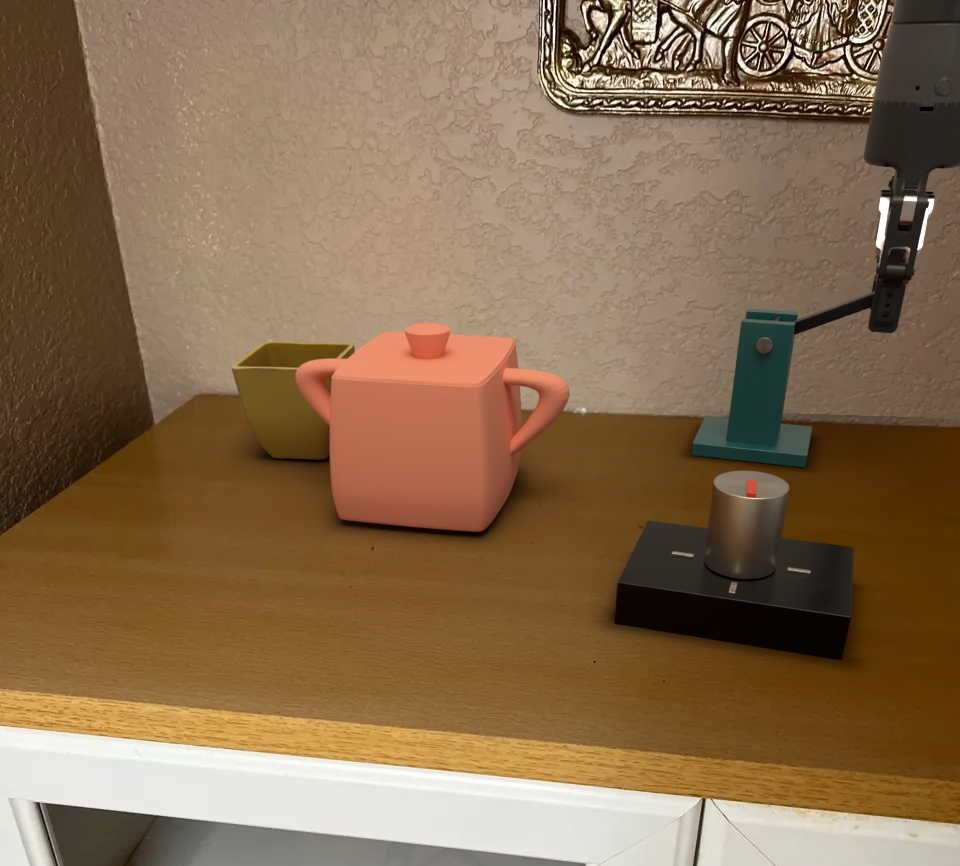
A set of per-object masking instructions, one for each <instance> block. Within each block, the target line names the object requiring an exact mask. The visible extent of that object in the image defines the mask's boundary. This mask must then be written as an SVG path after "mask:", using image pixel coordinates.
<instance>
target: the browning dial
mask: <svg viewBox="0 0 960 866" xmlns="http://www.w3.org/2000/svg"><path fill="white" fill-rule="evenodd" d="M711 490H712V491H711V499H710V507H709V514H708V515H709V516H708V523H707V528H708V530H707V538H706V546H705V554H704V562H705V564H706V566H707V567H708V568H709V569H711V570H712V571H714V572H716V573H718V574H721V575H724V576H727V577H732V578H738V579H757V578H762V577H766V576H768V575H770V574H772V573H773V572H774V571H775V570H776V567H777V561H778V555H779V549H780V543H781V538H783V537H782V536H783V532H784V531H783V530H784V524H785V517H786V512H787V507H788V500H789V493H790V485H789V483H788V482H787V481H786V480H784V479H783V478H782V477H779V476H777V475H774V474H770V473H767V472H762V471H756V470H755V471H754V470H733V471H726V472H723V473H721V474H719V475H716V476H715V478H714V479H713V482H712V489H711Z"/></svg>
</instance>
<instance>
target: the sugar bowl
mask: <svg viewBox="0 0 960 866" xmlns="http://www.w3.org/2000/svg"><path fill="white" fill-rule="evenodd" d="M451 329H452V328H451V327H450V326H448V325H446V324H444V323H439V322H418V323H414V324H411V325H409V326H406V327H405V328H404V331H385V332H383V333H381V334H378V335H377V336H375V337H374V338H372V339H371V340H369V341H368V342H367V343H365V344H364V345H362V346H361V347H360V348H358V349H357V350H355V353H353V354H352V355H351V356H350V357H349V358H348V359H317V360H312V361H308V362H306V363H304V364H302V365H301V366H300V367H299V368H298V369H297V371H296V374H295V376H296V383H297V386H298V389H299V390H300V392H301V394H302V396H303V397H304V399H305V401H306V402H307V403H308V404H309V406H310V407H311V408H312V409H313V410H314V411H315V412H316V413H317V414H318V415H319V416H320V417H321V418H322V419H323V420H324V421H325V422H326V423H327V424H328V425H329V426H330V454H329V469H330V485H331V493H332V498H333V503H334V506H335V510H336V514H337V516H338V519H340V520H343V521H350V522H360V523H370V524H378V525H379V524H380V525H388V526H389V525H391V526H399V527H400V526H401V527H409V528H410V527H412V528H421V529H423V528H424V529H435V530H447V531H461V532H476V533H477V532H478V533H479V532H483V531H484V530H486V529H487V528H488V527H489V526H490V525H491V523H493V521H494V519H495V518H496V517H497V515H498V514H499V512H500V511H501V510H502V508H503V506H504V505H505V503H506V502H507V500H508V498H509V496H510V494H511V492H512V489H513V486H514V484H515V481H516V479H517V475H518V470H519V466H520V462H521V456H522V449H523V448H525V447H526V446H527V445H529V444H530V443H532V442H533V441H534V440H535V439H537V438H538V437H539V436H540V435H542V434H543V433H544V432H545V431H546V430H547V429H548V428H549V427H551V425H553V424H554V423H555V421H557V419H558V418H559V417H560V416H561V414H562V413H563V411H564V409H565V408H566V406H567V404H568V401H569V398H570V386H569V384H568V382H567V381H566V380H565V379H564V378H563V377H561V376H559V375H558V374H554V373H551V372H548V371H542V370H538V369H529V368H519V363H518V362H519V361H518V351H517V344H516V340H515V339H514V338H513V337H506V336H492V335H491V336H490V335H475V334H474V335H472V334H457V333H455V334H453V333H451ZM331 375H332V380H331V394H330V393H329V391H328V389H327V387H326V384H325V378H326V377H327V376H331ZM521 387H524V388H528V389H531V390H534V391H536V392H537V394H538V401H537V404H536V406H535V407H534V409H533V411H532V412H531V414H530V415H529V416H528V419H527V420H526V421H525V423H524V424H522V423H523V421H522V420H523V418H522V398H521V397H522V395H521Z"/></svg>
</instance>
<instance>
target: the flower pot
mask: <svg viewBox="0 0 960 866" xmlns="http://www.w3.org/2000/svg"><path fill="white" fill-rule="evenodd" d="M355 347H356V345H355V344H354V343H352V342H297V341H264V342H261V343H260V344H259V345H257V346H256V347H255V348H254V349H252V350H251V351H250V352H249V353H247V354H246V355H244V356H243V357H241V358H240V359H239V360H238V361H236V362H235V363H233V365H231V372H232V374H233V375H232V376H233V379H234V382H235V385H236V389H237V393H238V396H239V400H240V403H241V407H242V410H243V414H244V417H245V419H246V422H247V424H248V427H249V429H250V431H251V433H252V434H253V436H254V438H255V439H256V441H257V442H258V443H259V444H260V446H261V447H262V448H263V449H264V451H266V453H267V454H268V455H269V456H270V457H272V458H273V459H290V460H291V459H295V460H296V459H297V460H318V461H319V460H325V459H327V458H328V457H329V456H330V426H329V425H328V424H327V423H326V422H325V421H324V420H323V419H322V418H321V417H320V416H319V415H318V414H317V413H316V412H315V411H314V410H313V409H312V408H311V407H310V406H309V404H308V403H307V402H306V401H305V399H304V397H303V396H302V394H301V392H300V390H299V389H298V386H297V383H296V376H295V374H296V371H297V369H298V368H299V367H300V366H301V365H302V364H304V363H306V362H308V361H312V360H317V359H348V358H349V357H350V356H351V355H352V354H353V353H355V352H356V350H355ZM331 380H332V375H331V376H327V377H326V378H325V384H326V387H327V389H328V391H329V393H330V394H331Z"/></svg>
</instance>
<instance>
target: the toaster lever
mask: <svg viewBox="0 0 960 866" xmlns="http://www.w3.org/2000/svg"><path fill="white" fill-rule="evenodd" d="M874 292H875V291H873V292H872V291H870V292H868V293H866V294H865V293H864V294H863V295H860V296H857V297H854V298H851V299H849V300H846V301H844V302H841V303H838V304H836V305H833V306H830V307H827V308H825V309H822V310H819V311H816V312H814V313H810V314H807V315H805V316H803V317H800V318H798V319H797V320H794V321H792V322H795V329H794V335H795V336H796V335H799V334H801V333H804V332H806V331H807V332H808V331H810V330H812V329H815V328H818V327H821V326H823V325H827V324H829V323H831V322H834V321H837V320H841V319H843V318H845V317H849V316H851V315H854V314H857V313H859V312H862V311H865V310H869V309H870V308H871V307H872V303H873V297H874ZM769 321H782V320H781V317H780V316H778V317H776V318H773V319H770V320H769Z"/></svg>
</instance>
